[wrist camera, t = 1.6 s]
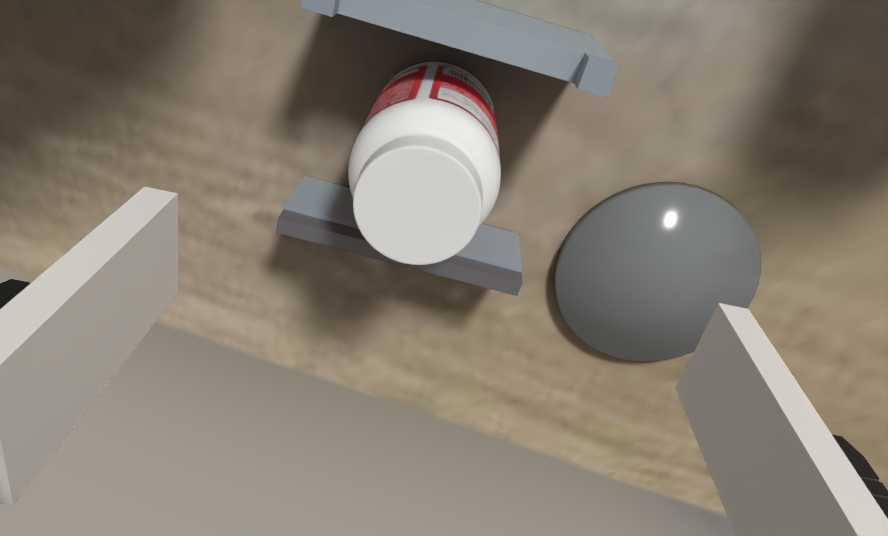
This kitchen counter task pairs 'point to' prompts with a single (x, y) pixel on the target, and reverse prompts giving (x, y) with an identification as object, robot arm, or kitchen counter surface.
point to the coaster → (654, 269)
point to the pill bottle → (426, 164)
